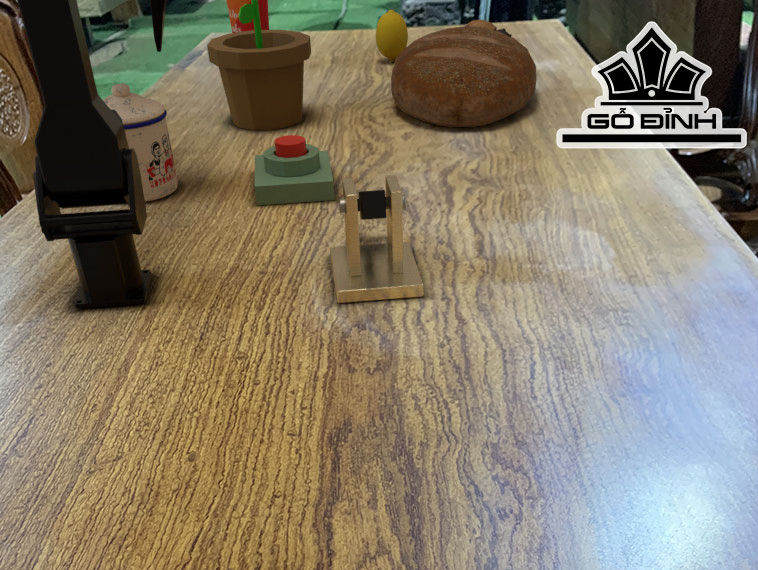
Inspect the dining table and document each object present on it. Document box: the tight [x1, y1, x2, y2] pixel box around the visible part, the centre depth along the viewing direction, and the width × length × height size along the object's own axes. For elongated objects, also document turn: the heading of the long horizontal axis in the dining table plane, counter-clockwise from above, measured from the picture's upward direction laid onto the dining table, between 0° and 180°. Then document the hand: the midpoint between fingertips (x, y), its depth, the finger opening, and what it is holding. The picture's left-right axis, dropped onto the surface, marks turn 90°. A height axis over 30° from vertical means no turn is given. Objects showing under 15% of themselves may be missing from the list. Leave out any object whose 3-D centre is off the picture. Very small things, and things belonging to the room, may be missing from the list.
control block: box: [254, 143, 335, 206], centre depth 98 cm, size 11×9×4 cm
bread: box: [390, 26, 538, 128], centre depth 125 cm, size 22×37×8 cm, turn 175°
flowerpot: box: [206, 0, 312, 131], centre depth 111 cm, size 14×14×30 cm
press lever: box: [357, 189, 387, 221], centre depth 80 cm, size 12×4×2 cm, turn 7°
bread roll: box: [463, 19, 513, 37], centre depth 153 cm, size 11×8×4 cm
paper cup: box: [225, 0, 270, 33], centre depth 140 cm, size 8×8×14 cm
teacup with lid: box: [102, 83, 179, 203], centre depth 97 cm, size 12×9×12 cm
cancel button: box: [274, 134, 307, 158], centre depth 97 cm, size 4×4×2 cm
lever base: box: [329, 174, 424, 304], centre depth 77 cm, size 10×8×9 cm
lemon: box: [375, 9, 409, 63], centre depth 142 cm, size 6×6×8 cm
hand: (117, 53), depth 91 cm, fingers open, 9 cm apart
